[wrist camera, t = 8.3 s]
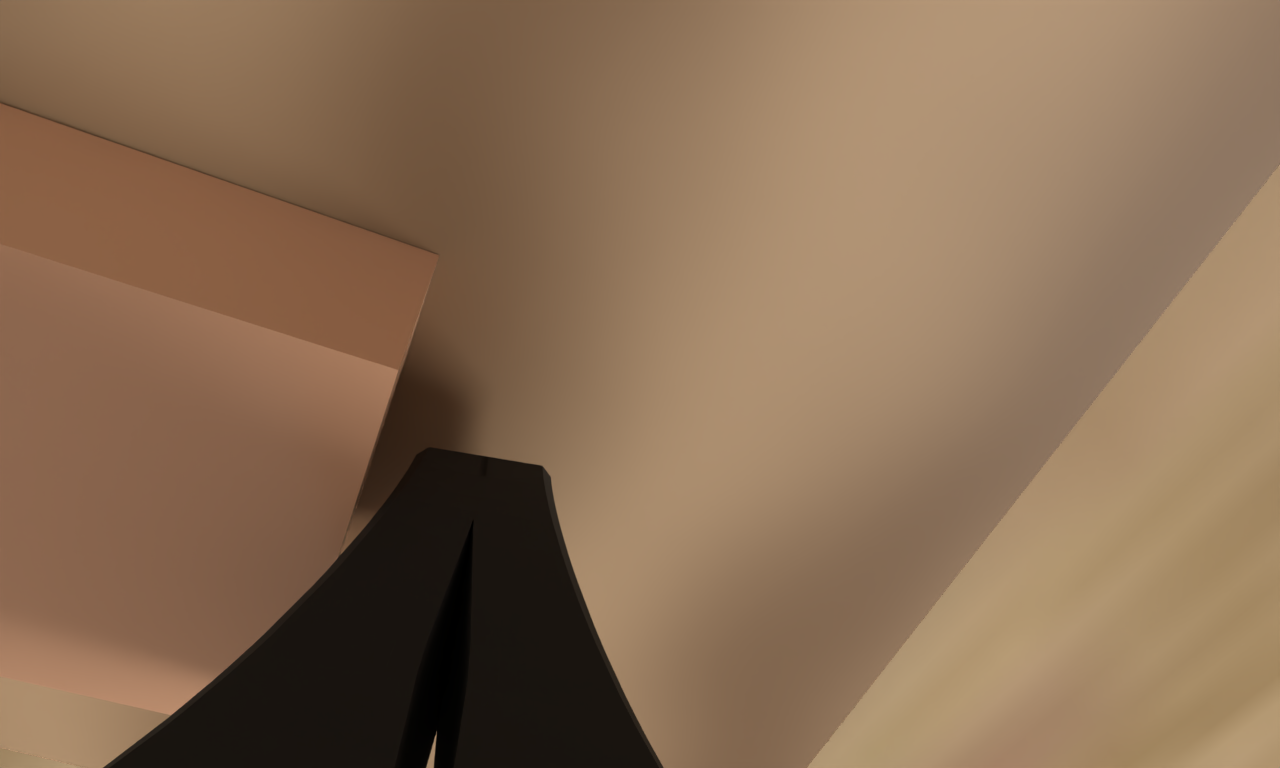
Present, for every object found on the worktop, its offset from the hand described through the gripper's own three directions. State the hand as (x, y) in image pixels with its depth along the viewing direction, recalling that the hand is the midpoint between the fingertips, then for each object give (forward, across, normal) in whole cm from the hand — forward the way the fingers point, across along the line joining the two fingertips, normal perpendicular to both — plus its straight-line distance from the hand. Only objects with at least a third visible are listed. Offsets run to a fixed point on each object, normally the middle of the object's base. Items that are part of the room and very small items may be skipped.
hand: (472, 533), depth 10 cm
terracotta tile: (+1, +3, -1) cm, 4 cm away
